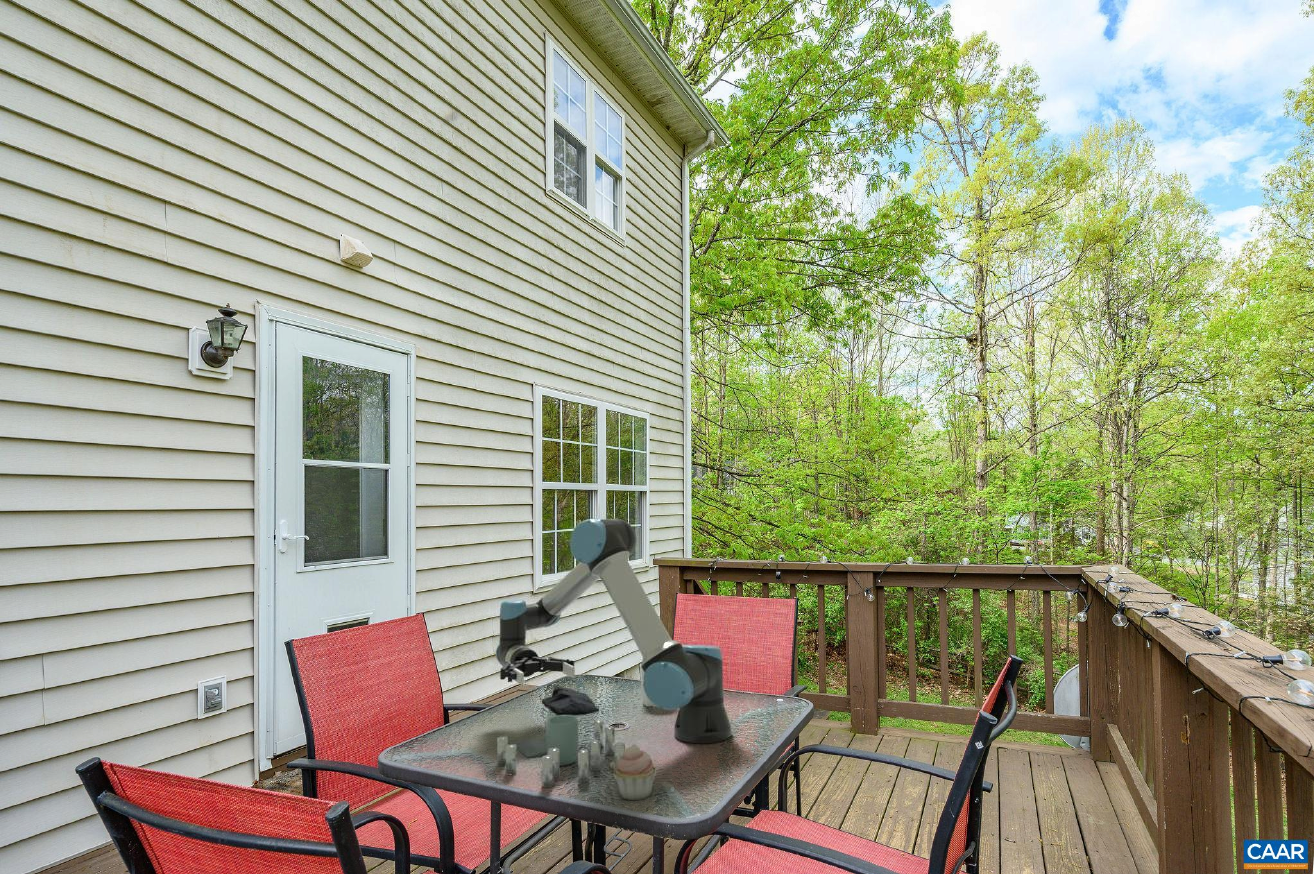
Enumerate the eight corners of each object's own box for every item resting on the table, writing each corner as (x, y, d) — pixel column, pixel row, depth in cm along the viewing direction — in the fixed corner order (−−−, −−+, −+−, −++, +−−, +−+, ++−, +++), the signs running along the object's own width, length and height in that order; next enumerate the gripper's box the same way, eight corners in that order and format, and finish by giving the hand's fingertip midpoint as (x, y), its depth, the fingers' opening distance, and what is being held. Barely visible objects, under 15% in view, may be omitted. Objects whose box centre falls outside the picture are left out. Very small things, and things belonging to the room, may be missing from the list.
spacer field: (496, 763, 162) (496, 737, 163) (615, 740, 177) (615, 716, 178) (525, 795, 143) (525, 764, 143) (656, 766, 158) (655, 739, 159)
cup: (552, 771, 156) (551, 725, 158) (541, 761, 163) (541, 717, 165) (583, 764, 160) (583, 720, 161) (572, 755, 167) (571, 713, 168)
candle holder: (671, 707, 208) (670, 667, 210) (639, 708, 208) (639, 667, 210) (671, 699, 218) (670, 660, 220) (641, 700, 218) (640, 661, 220)
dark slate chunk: (552, 719, 201) (552, 702, 201) (540, 701, 221) (540, 686, 222) (602, 713, 206) (602, 697, 206) (586, 696, 226) (586, 682, 227)
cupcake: (662, 787, 145) (661, 738, 146) (651, 805, 136) (650, 752, 137) (621, 784, 147) (620, 736, 148) (607, 801, 138) (606, 750, 139)
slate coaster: (513, 745, 176) (513, 743, 176) (556, 737, 182) (556, 735, 182) (527, 758, 166) (527, 756, 166) (573, 749, 171) (573, 747, 171)
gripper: (564, 669, 196) (593, 684, 178) (477, 680, 184) (499, 697, 166) (564, 642, 197) (593, 655, 179) (478, 651, 185) (500, 665, 167)
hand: (548, 675), depth 172 cm, fingers open, 13 cm apart
